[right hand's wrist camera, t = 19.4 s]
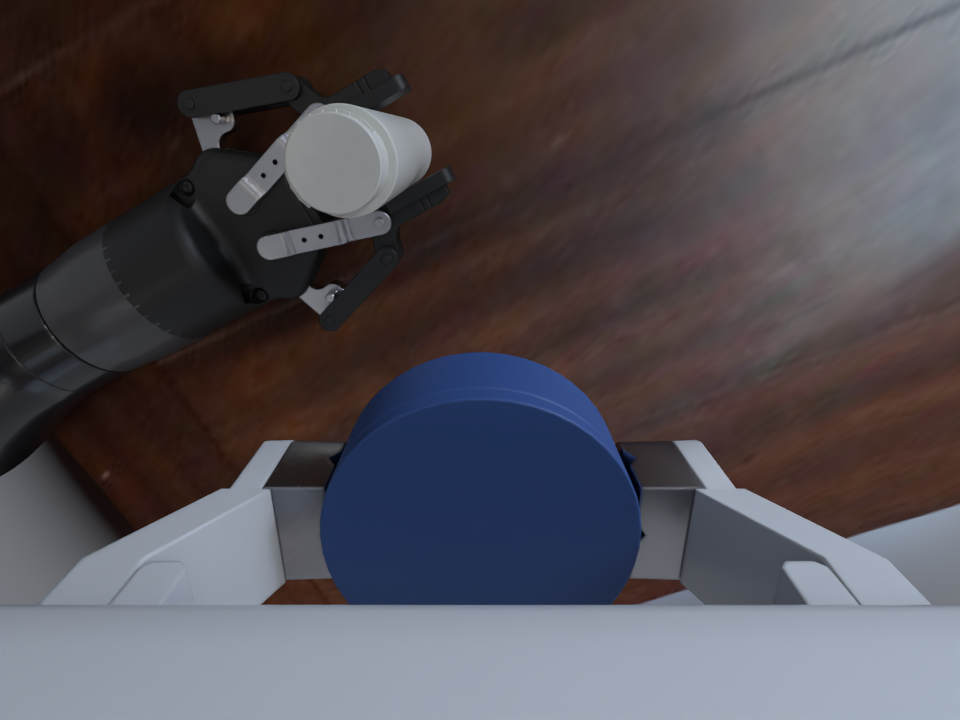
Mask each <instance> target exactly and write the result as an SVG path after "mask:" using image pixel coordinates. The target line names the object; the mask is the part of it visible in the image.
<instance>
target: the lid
mask: <svg viewBox="0 0 960 720" xmlns="http://www.w3.org/2000/svg"><path fill="white" fill-rule="evenodd" d="M640 539H641V513H640V508H639V504H638V499H637V495H636V493H635V490H634V488H633V485H632V483H631V480H630V478H629V475H628V473H627V471H626V469H625V467H624V464H623V462H622V460H621V457H620V455H619V453H618V451H617V448H616V446H615V444H614V442H613V439H612V437H611V435H610V433H609V430H608V428H607V426H606V424H605V422H604V420H603V418H602V417H601V415H600V413H599V412H598V410H597V408H596V407H595V406H594V405H593V403H592V402H591V401H590V400H589V398H588V397H587V396H586V395H585V394H584V393H583V392H582V391H581V390H580V389H579V388H577V387H576V386H575V385H574V384H573V383H572V382H570V381H569V380H567V379H566V378H564V377H563V376H562V375H560V374H559V373H557V372H555V371H553V370H551V369H549V368H547V367H545V366H543V365H541V364H538V363H535V362H533V361H530V360H527V359H524V358H520V357H515V356H511V355H507V354H497V353H488V352H484V353H463V354H456V355H449V356H445V357H441V358H438V359H434V360H430V361H428V362H425V363H423V364H421V365H418V366H416V367H413V368H411V369H410V370H408V371H406V372H405V373H403V374H401V375H399V376H398V377H396V378H395V379H393V380H392V381H391V382H390V383H388V384H387V385H386V386H384V387H383V388H382V389H381V390H380V391H379V392H378V393H377V394H376V395H375V396H374V397H373V398H372V399H371V400H370V402H369V403H368V404H367V406H366V407H365V409H364V410H363V411H362V413H361V414H360V416H359V418H358V420H357V422H356V424H355V426H354V428H353V430H352V432H351V434H350V437H349V439H348V441H347V443H346V446H345V448H344V450H343V453H342V455H341V457H340V459H339V462H338V464H337V466H336V469H335V471H334V473H333V475H332V478H331V480H330V482H329V485H328V487H327V490H326V493H325V496H324V499H323V503H322V509H321V515H320V540H321V546H322V552H323V556H324V559H325V562H326V565H327V568H328V571H329V573H330V575H331V577H332V579H333V581H334V583H335V585H336V586H337V588H338V589H339V591H340V592H341V594H342V595H343V596H344V598H345V599H346V600H347V602H348V603H349V604H350V605H611V604H612V602H613V601H614V600H615V599H616V598H617V596H618V595H619V594H620V592H621V591H622V589H623V587H624V586H625V584H626V583H627V581H628V579H629V577H630V575H631V572H632V570H633V568H634V566H635V563H636V559H637V555H638V551H639V548H640Z"/></svg>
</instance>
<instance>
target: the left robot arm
mask: <svg viewBox="0 0 960 720" xmlns="http://www.w3.org/2000/svg"><path fill="white" fill-rule="evenodd" d="M410 91H411V88H410V86H409V84H408V82H407V80H406V78H405V76H404V75H403V74H401V73H400V74H397V75H395V76H393V77H391V75H390V73H389V72H388V71H386V70H385V69H382V70H373V71H372V72H370V73H368V74H367V75H365V76H364V77H362V78H360V79H359V80H357V81H356V82H354V83H352V84H350V85H349V86H347V87H345V88H344V89H342V90H340V91H339V92H337V93H335V94H334V95H332V96H330V97H323V96H322V95H321V94H320V93H319V92H317V91H316V90H315V89H314V88H313V86H312V84H311V83H310V82H309V81H308V80H307V79H305V78H303V77H299V76H295V75H293V74H291V73H288V72H281V73H276V74H271V75H265V76H260V77H255V78H249V79H244V80H239V81H233V82H228V83H223V84H217V85H212V86H206V87H201V88H196V89H190V90H185V91H183V92H181V93H180V94H179V96H178V98H177V105H178V108H179V110H180V111H181V113H182V114H183V115H185V116H186V117H189V118H192V120H193V123H194V126H195V129H196V132H197V136H198V139H199V142H200V145H201V148H202V151H203V152H201V153H200V154H199V155H198V157H197V158H196V160H195V163H194V165H193V167H192V169H191V170H190V171H189V173H188V174H187V175H185V176H184V177H183V178H181V179H179V180H178V181H176V182H174V183H173V184H171V185H170V186H168V187H166V188H165V189H163V190H161V191H160V192H158V193H156V194H155V195H153V196H152V197H150V198H148V199H147V200H145V201H143V202H142V203H140V204H138V205H137V206H135V207H134V208H132V209H130V210H128V211H127V212H125V213H123V214H122V215H120V216H119V217H117V218H115V219H114V220H112V221H110V222H109V223H107V224H105V225H104V226H102V227H100V228H99V229H97V230H96V231H94V232H92V233H91V234H89V235H87V236H86V237H84V238H82V239H81V240H79V241H78V242H76V243H75V244H73V245H72V246H71V247H70V248H68V249H67V250H66V251H65V252H64V253H63V254H62V255H61V256H60V257H58V258H57V259H56V260H55V261H54V262H52V263H51V264H50V265H48V266H47V267H45V268H43V269H42V270H40V271H38V272H37V273H35V274H34V275H32V276H30V277H29V278H27V279H25V280H24V281H22V282H20V283H19V284H17V285H15V286H14V287H12V288H10V289H9V290H7V291H5V292H4V293H2V294H0V476H1V475H3V474H5V473H7V472H8V471H10V470H12V469H13V468H15V467H16V466H17V465H19V464H20V463H21V462H23V461H24V460H25V459H26V458H28V457H29V456H30V455H31V454H32V453H33V452H34V451H35V450H36V449H37V448H38V447H39V446H40V445H41V444H42V443H43V442H44V441H45V440H46V439H47V438H48V437H49V436H50V434H51V433H52V432H53V431H54V430H55V429H56V427H57V426H58V425H59V424H60V423H61V421H62V420H63V419H64V418H65V417H66V416H67V415H68V414H69V413H70V412H71V411H72V410H73V409H74V408H75V407H76V406H77V405H78V404H79V403H80V402H81V401H82V400H83V399H84V398H85V397H87V396H88V395H90V394H91V393H93V392H94V391H96V390H98V389H100V388H102V387H103V386H105V385H107V384H109V383H111V382H112V381H114V380H116V379H118V378H120V377H122V376H124V375H125V374H127V373H129V372H131V371H133V370H135V369H137V368H139V367H141V366H143V365H146V364H148V363H151V362H154V361H157V360H160V359H162V358H165V357H167V356H170V355H172V354H174V353H176V352H178V351H179V350H181V349H183V348H185V347H187V346H189V345H190V344H192V343H194V342H197V341H199V340H201V339H202V338H203V337H205V336H207V335H209V334H211V333H213V332H215V331H216V330H218V329H220V328H222V327H224V326H226V325H227V324H229V323H231V322H233V321H235V320H237V319H239V318H240V317H242V316H244V315H246V314H248V313H250V312H252V311H254V310H255V309H257V308H259V307H261V306H263V305H265V304H267V303H268V302H270V301H273V300H276V299H294V298H298V297H299V298H300V299H302V300H303V301H304V302H305V303H306V304H308V305H309V306H310V307H311V308H312V309H313V310H315V311H316V312H317V313H318V314H319V315H320V316H319V323H320V325H321V327H322V328H323V329H325V330H327V331H335V330H337V329H338V328H339V327H340V326H341V325H342V324H343V323H344V321H345V320H346V319H347V318H348V317H349V316H350V315H351V314H352V313H353V312H354V311H355V310H356V309H357V308H358V307H359V305H360V304H361V303H362V302H363V301H364V300H365V299H366V298H367V297H368V296H369V295H370V294H371V293H372V292H373V290H374V289H375V288H376V287H377V286H378V285H379V284H380V283H381V282H382V281H383V280H384V279H385V278H386V277H387V276H388V274H389V273H390V272H391V271H392V270H393V269H394V268H395V267H396V266H397V264H398V263H399V261H400V260H401V258H402V256H403V254H404V249H403V246H402V244H401V240H400V234H399V230H400V226H401V224H403V223H404V222H406V221H408V220H410V219H412V218H414V217H415V216H417V215H419V214H421V213H423V212H425V211H427V210H428V209H430V208H432V207H434V206H436V205H438V204H440V203H441V202H443V200H444V199H445V198H446V197H447V195H448V194H449V193H450V190H449V188H448V186H447V183H449V182H451V181H452V180H454V179H455V178H456V177H455V175H454V173H453V171H452V169H451V167H450V165H449V166H447V167H445V168H443V169H442V170H440V171H438V172H436V173H434V174H432V175H431V176H429V177H427V178H425V179H423V180H422V181H420V182H418V183H416V184H414V185H413V186H411V187H409V188H407V189H406V190H404V191H403V192H401V193H400V194H399V195H397V196H396V197H394V198H393V199H391V200H390V201H389V202H387V203H386V204H385V205H384V206H381V207H380V208H378V209H377V210H375V211H374V212H372V213H370V214H368V215H365V216H362V217H358V218H340V217H336V216H331V215H329V214H327V213H324V212H321V211H319V210H317V209H315V208H313V207H310V208H308V207H307V206H306V205H305V204H303V203H302V202H301V201H300V200H299V199H298V197H297V196H296V195H295V193H294V192H293V191H292V189H291V188H290V185H289V183H288V180H287V178H286V176H285V169H284V164H283V156H284V145H285V144H286V141H287V138H288V135H289V132H291V130H292V129H293V127H294V126H295V125H296V123H297V122H298V121H300V120H301V119H302V118H304V117H305V116H306V115H308V114H309V113H310V112H312V111H313V110H315V109H316V108H319V107H321V106H324V105H328V104H334V103H345V104H351V105H355V106H359V107H363V108H367V109H371V110H375V111H378V110H380V109H382V108H383V107H385V106H387V105H389V104H390V103H392V102H394V101H395V100H397V99H399V98H400V97H402V96H404V95H405V94H407V93H408V92H410ZM287 106H291V107H293V108H294V109H295V110H296V111H297V112H298V113H299V114H300V115H301V116H300V117H299V118H298V119H297V121H296V122H295V123H294V124H293V125H292V126H291V127H290V129H289V130H288V131H287V132H286V133H284V134H282V135H281V136H280V137H279V138H278V139H277V140H276V141H275V142H274V143H273V144H272V145H271V146H270V148H269V149H268V150H267V151H266V152H265V153H264V154H263V153H257V152H251V151H244V150H238V149H232V148H227V138H228V137H229V135H230V134H232V133H234V132H236V131H238V130H239V129H240V127H241V124H242V120H241V116H240V115H243V114H249V113H254V112H260V111H265V110H271V109H276V108H281V107H287ZM368 237H373V242H374V247H375V252H376V254H375V255H374V256H373V257H372V258H371V259H370V261H369V262H368V263H367V264H366V265H365V266H364V267H363V268H362V269H361V270H360V271H359V273H358V274H357V275H356V276H355V277H354V278H353V279H352V280H351V281H350V282H349V284H348V285H346V284H344V283H343V282H342V281H339V280H333V281H331V282H330V283H328V284H327V285H318V284H316V283H314V281H315V278H316V275H317V273H318V270H319V268H320V265H321V263H322V260H323V258H324V255H325V253H326V250H327V248H328V247H332V246H337V245H341V244H345V243H348V242H351V241H354V240H359V239H364V238H368Z"/></svg>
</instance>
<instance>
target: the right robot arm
mask: <svg viewBox="0 0 960 720" xmlns="http://www.w3.org/2000/svg"><path fill="white" fill-rule="evenodd" d="M346 443H347V442H337V441H293V440H279V441H266V442H264V443H263V444H262V445H261V446H260V448H259V449H258V451H257V452H256V453H255V455H254V456H253V457H252V459H251V460H250V461H249V463H248V464H247V466H246V467H245V468H244V470H243V471H242V472H241V474H240V475H239V477H238V478H237V479H236V481H235V482H234V483H233V485H232V486H231V488H230V489H220V490H218V491H216V492H214V493H212V494H210V495H208V496H206V497H204V498H202V499H200V500H198V501H196V502H194V503H192V504H190V505H188V506H186V507H184V508H182V509H180V510H178V511H176V512H174V513H172V514H170V515H168V516H166V517H164V518H162V519H160V520H158V521H156V522H154V523H152V524H150V525H148V526H146V527H143V528H141V529H139V530H137V531H135V532H133V533H131V534H129V535H127V536H126V537H123V538H121V539H120V540H117V541H115V542H113V543H111V544H109V545H107V546H105V547H103V548H101V549H99V550H97V551H95V552H93V553H91V554H89V555H87V556H85V557H83V558H81V559H80V560H79V561H78V562H77V563H76V564H75V565H74V566H73V567H72V568H71V569H70V571H68V573H67V574H66V575H65V576H64V577H63V578H62V579H61V580H60V581H59V582H58V583H57V584H56V585H55V586H54V587H53V588H52V589H51V590H50V591H49V592H48V593H47V594H46V595H45V596H44V597H43V598H42V600H41V601H40V602H39V603H38V604H37V605H0V720H960V605H931V604H930V603H929V602H928V601H927V600H926V599H925V598H924V597H923V596H922V595H921V593H920V592H919V591H918V590H917V589H916V588H915V587H914V586H913V585H912V584H911V583H910V582H909V581H908V580H907V579H906V578H905V577H904V576H903V575H902V574H901V573H900V572H899V571H898V570H897V569H896V568H895V567H894V566H893V565H892V564H891V563H890V562H889V561H888V560H887V559H885V558H883V557H881V556H879V555H877V554H875V553H873V552H871V551H869V550H867V549H865V548H863V547H861V546H859V545H857V544H855V543H853V542H851V541H849V540H847V539H845V538H843V537H841V536H839V535H837V534H835V533H833V532H831V531H829V530H827V529H825V528H823V527H821V526H819V525H817V524H815V523H813V522H811V521H809V520H807V519H805V518H803V517H801V516H799V515H797V514H794V513H792V512H790V511H788V510H786V509H784V508H782V507H780V506H778V505H776V504H774V503H772V502H770V501H768V500H766V499H764V498H762V497H760V496H758V495H756V494H754V493H752V492H750V491H748V490H746V489H736V488H735V487H734V485H733V484H732V483H731V481H730V480H729V479H728V477H727V476H726V475H725V473H724V472H723V471H722V469H721V468H720V467H719V465H718V464H717V463H716V461H715V460H714V459H713V457H712V456H711V455H710V453H709V452H708V451H707V449H706V448H705V447H704V445H703V444H702V443H701V442H699V441H697V440H685V441H643V442H618V443H615V446H616V448H617V451H618V453H619V455H620V457H621V460H622V462H623V464H624V467H625V469H626V471H627V473H628V475H629V478H630V480H631V483H632V485H633V488H634V490H635V493H636V495H637V499H638V504H639V508H640V513H641V539H640V548H639V551H638V555H637V559H636V563H635V566H634V568H633V570H632V572H631V575H630V578H640V579H677V580H680V582H681V583H682V584H683V585H684V586H685V587H686V588H687V589H688V590H689V591H691V592H692V593H693V594H694V595H695V596H696V597H697V598H698V599H700V600H701V601H702V602H703V603H704V604H705V605H261V604H262V603H263V602H264V601H265V600H266V599H267V598H268V597H270V596H271V595H272V594H273V593H274V592H275V591H276V590H277V589H278V588H280V587H281V586H282V585H283V584H284V583H285V580H288V579H324V578H332V577H331V575H330V573H329V571H328V568H327V565H326V562H325V559H324V556H323V552H322V546H321V540H320V515H321V509H322V503H323V499H324V496H325V493H326V490H327V487H328V485H329V482H330V480H331V478H332V475H333V473H334V471H335V469H336V466H337V464H338V462H339V459H340V457H341V455H342V453H343V450H344V448H345V446H346Z"/></svg>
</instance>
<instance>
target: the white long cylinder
mask: <svg viewBox="0 0 960 720" xmlns="http://www.w3.org/2000/svg"><path fill="white" fill-rule="evenodd" d="M430 162H431V145H430V142H429V139H428V137H427V135H426V133H425V132H424V130H423V129H422V128H421V127H420V126H419V125H418V124H417V123H415V122H413V121H412V120H410V119H407V118H404V117H399V116H395V115H391V114H387V113H383V112H379V111H375V110H371V109H367V108H363V107H359V106H355V105H351V104H345V103H334V104H328V105H324V106H321V107H319V108H316V109H315V110H313V111H312V112H310V113H309V114H308V115H306V116H305V117H304V118H302V119H301V120H300V121H298V122H297V123H296V125H295V126H294V127H293V129H292V130H291V132H289V135H288V138H287V141H286V144H285V145H284V156H283V164H284V169H285V176H286V178H287V180H288V183H289V185H290V188H291V189H292V191H293V192H294V193H295V195H296V196H297V197H298V199H299V200H300V201H301V202H302V203H303V204H305V205H306V206H307V207H308V208H310V207H313V208H315V209H317V210H319V211H321V212H324V213H327V214H329V215H332V216H336V217H340V218H358V217H362V216H365V215H368V214H370V213H372V212H374V211H375V210H377V209H378V208H380V207H381V206H383V205H384V204H386V203H387V202H389V201H390V200H391V199H393V198H394V197H396V196H397V195H399V194H400V193H401V192H403V191H404V190H406V189H407V188H409V187H410V186H412V185H413V184H414V183H416V182H417V181H419V180H420V179H421V178H422V177H423V176H424V175H425V173H426V172H427V170H428V168H429V165H430Z"/></svg>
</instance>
